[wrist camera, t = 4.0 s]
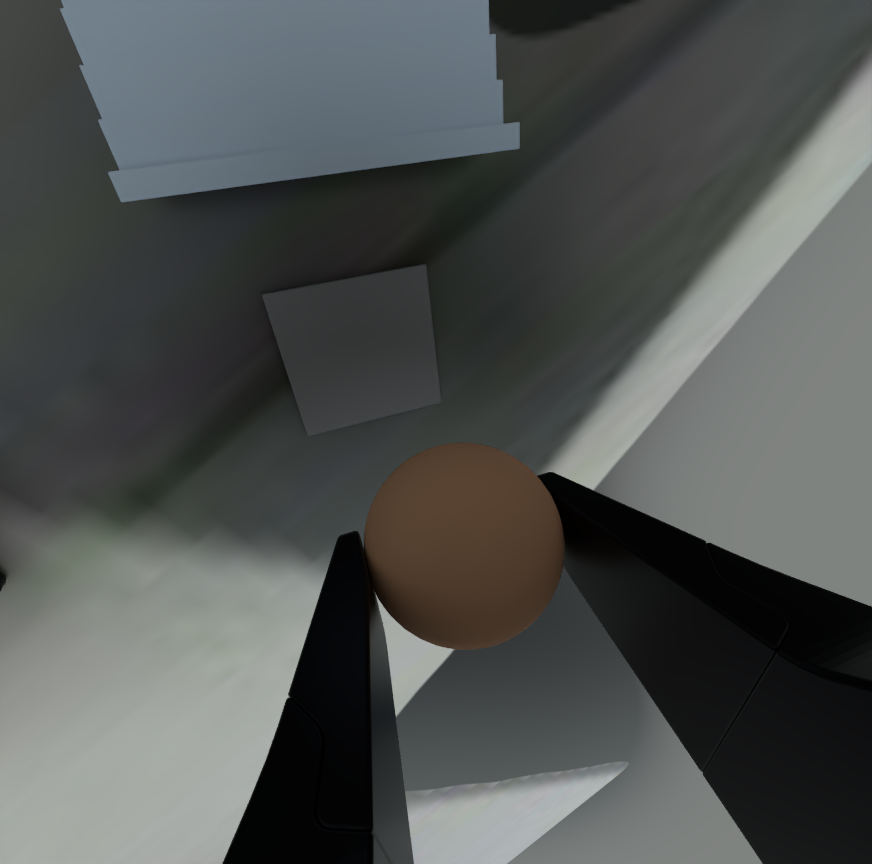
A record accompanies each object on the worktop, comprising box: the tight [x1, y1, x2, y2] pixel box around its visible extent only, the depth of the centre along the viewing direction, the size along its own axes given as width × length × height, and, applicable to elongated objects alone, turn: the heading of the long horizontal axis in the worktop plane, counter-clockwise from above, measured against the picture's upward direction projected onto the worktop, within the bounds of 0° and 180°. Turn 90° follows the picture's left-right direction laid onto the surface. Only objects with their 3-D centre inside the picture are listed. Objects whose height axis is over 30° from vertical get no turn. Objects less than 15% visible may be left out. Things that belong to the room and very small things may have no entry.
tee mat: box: [262, 263, 441, 437], centre depth 18 cm, size 6×6×1 cm
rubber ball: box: [364, 443, 565, 650], centre depth 9 cm, size 4×4×4 cm
